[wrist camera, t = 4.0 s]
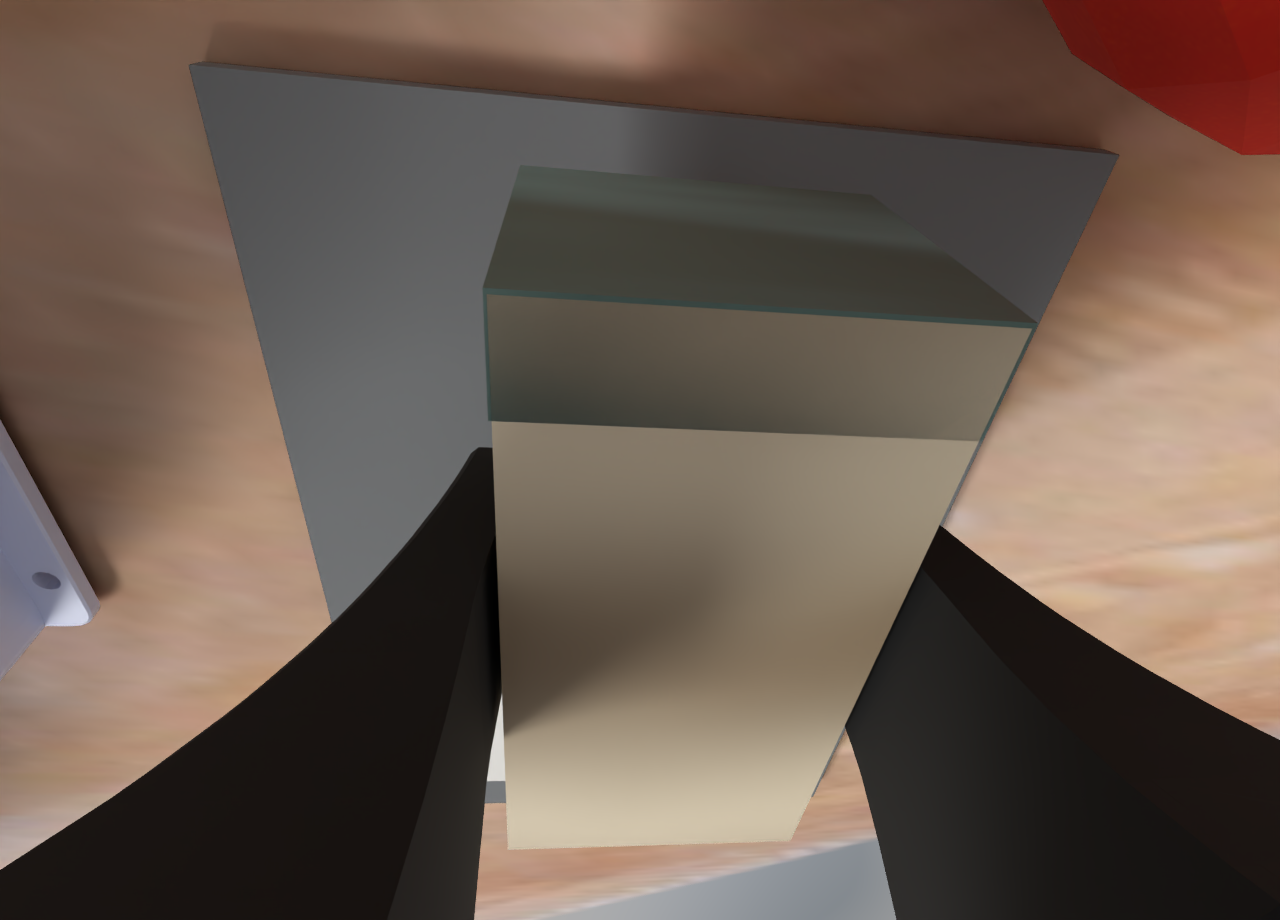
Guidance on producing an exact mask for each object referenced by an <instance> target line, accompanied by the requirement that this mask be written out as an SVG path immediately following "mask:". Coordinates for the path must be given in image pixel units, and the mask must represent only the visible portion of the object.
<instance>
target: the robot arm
mask: <svg viewBox="0 0 1280 920" xmlns="http://www.w3.org/2000/svg"><path fill="white" fill-rule="evenodd" d="M99 608H100V603H99V600H98V598H97V596H96V595H95V593H94V591H93V589H92V587H91V585H90V584H89V582H88V580H87V578H86V576H85V574H84V572H83V571H82V569H81V567H80V565H79V563H78V561H77V560H76V558H75V556H74V554H73V552H72V550H71V549H70V547H69V545H68V543H67V541H66V539H65V538H64V536H63V534H62V532H61V530H60V528H59V527H58V525H57V523H56V521H55V519H54V517H53V516H52V514H51V512H50V510H49V508H48V506H47V504H46V503H45V501H44V499H43V497H42V495H41V493H40V492H39V490H38V488H37V486H36V484H35V482H34V481H33V479H32V477H31V475H30V473H29V471H28V470H27V468H26V466H25V464H24V462H23V460H22V459H21V457H20V455H19V453H18V451H17V449H16V448H15V446H14V444H13V442H12V440H11V438H10V437H9V435H8V433H7V431H6V429H5V427H4V425H3V424H2V422H1V420H0V681H1V680H2V678H3V677H4V676H5V675H6V674H7V672H8V671H9V670H10V669H11V667H12V666H13V665H14V664H15V663H16V661H17V660H18V659H19V658H20V656H21V655H22V654H23V653H24V652H25V650H26V649H27V648H28V647H29V645H30V644H31V643H32V642H33V641H34V639H35V638H36V637H37V636H38V634H39V633H40V632H41V631H42V630H43V628H44V627H45V626H79V625H85V624H87V623H89V622H90V621H91V620H92V619H93V617H94V616H95V615H96V613H97V612H98V610H99ZM501 696H502V679H501V653H500V627H499V601H498V575H497V549H496V523H495V497H494V470H493V448H490V447H478V448H477V449H476V450H474V451H473V452H472V453H471V454H470V456H469V457H468V459H467V461H466V462H465V464H464V466H463V467H462V469H461V470H460V472H459V474H458V475H457V477H456V478H455V480H454V481H453V482H452V484H451V485H450V487H449V488H448V490H447V491H446V492H445V494H444V495H443V497H442V498H441V499H440V501H439V502H438V504H437V505H436V506H435V508H434V509H433V510H432V511H431V513H430V514H429V515H428V517H427V518H426V519H425V520H424V522H423V523H422V524H421V526H420V527H419V528H418V529H417V531H416V532H415V533H414V534H413V536H412V537H411V538H410V539H409V541H408V542H407V543H406V544H405V545H404V547H403V548H402V549H401V550H400V551H399V552H398V554H397V555H396V556H395V557H394V558H393V559H392V560H391V561H390V562H389V564H388V565H387V566H386V567H385V568H384V569H383V570H382V571H381V573H380V574H379V575H378V576H377V577H376V578H375V579H374V580H373V582H372V583H371V584H370V585H369V586H368V587H367V588H366V589H365V590H364V591H363V592H362V593H361V594H360V595H359V596H358V598H357V599H356V600H355V601H354V602H353V603H352V604H351V605H350V606H349V607H348V608H347V609H346V610H345V611H344V612H343V613H342V614H341V615H340V616H339V617H338V618H337V619H336V620H334V621H333V622H332V623H331V624H330V625H329V626H328V627H327V628H326V629H325V630H324V631H323V632H322V633H321V634H320V635H319V636H318V637H317V638H315V639H314V640H313V641H312V642H311V643H310V644H309V645H308V646H307V647H306V648H305V649H303V650H302V651H301V652H300V653H299V654H298V655H296V656H295V657H294V658H293V659H292V660H291V661H289V662H288V663H287V664H286V665H285V666H284V667H283V668H281V669H280V670H279V671H278V672H277V673H276V674H274V675H273V676H272V677H271V678H270V679H269V680H267V681H266V682H265V683H264V684H263V685H262V686H260V687H259V688H258V689H257V690H256V691H254V692H253V693H252V694H251V695H249V696H248V697H247V698H246V699H245V700H243V701H242V702H241V703H240V704H238V705H237V706H236V707H235V708H233V709H232V710H231V711H229V712H228V713H227V714H226V715H224V716H223V717H222V718H220V719H219V720H218V721H216V722H215V723H214V724H212V725H211V726H210V727H208V728H207V729H205V730H204V731H203V732H201V733H200V734H199V735H197V736H196V737H195V738H193V739H192V740H191V741H189V742H188V743H187V744H185V745H184V746H183V747H181V748H180V749H179V750H177V751H176V752H174V753H173V754H172V755H170V756H169V757H168V758H166V759H165V760H164V761H162V762H161V763H160V764H158V765H157V766H156V767H154V768H153V769H152V770H150V771H149V772H148V773H146V774H145V775H143V776H142V777H141V778H139V779H138V780H136V781H135V782H133V783H132V784H131V785H129V786H128V787H126V788H125V789H123V790H122V791H121V792H119V793H118V794H116V795H115V796H113V797H112V798H111V799H109V800H108V801H106V802H104V803H103V804H101V805H100V806H98V807H97V808H95V809H94V810H92V811H91V812H89V813H87V814H86V815H84V816H83V817H81V818H80V819H78V820H77V821H75V822H74V823H72V824H70V825H69V826H67V827H66V828H64V829H63V830H61V831H60V832H58V833H57V834H55V835H53V836H52V837H50V838H49V839H47V840H46V841H44V842H43V843H41V844H40V845H38V846H37V847H35V848H33V849H32V850H30V851H29V852H27V853H26V854H24V855H23V856H21V857H20V858H18V859H16V860H15V861H13V862H12V863H10V864H9V865H7V866H6V867H4V868H3V869H1V870H0V920H474V913H475V902H476V891H477V880H478V868H479V857H480V847H481V836H482V826H483V815H484V804H485V794H486V784H487V776H488V769H489V763H490V756H491V749H492V744H493V738H494V733H495V728H496V722H497V717H498V712H499V706H500V701H501ZM845 728H846V731H847V734H848V736H849V739H850V742H851V744H852V748H853V751H854V754H855V757H856V760H857V763H858V766H859V769H860V772H861V776H862V779H863V783H864V787H865V791H866V795H867V799H868V803H869V807H870V810H871V814H872V818H873V822H874V826H875V830H876V834H877V838H878V841H879V846H880V850H881V854H882V859H883V863H884V867H885V872H886V876H887V880H888V884H889V889H890V893H891V897H892V901H893V906H894V910H895V915H896V920H1280V740H1279V739H1277V738H1275V737H1273V736H1271V735H1268V734H1266V733H1264V732H1262V731H1260V730H1258V729H1256V728H1254V727H1253V726H1251V725H1249V724H1247V723H1245V722H1243V721H1241V720H1239V719H1237V718H1235V717H1233V716H1231V715H1229V714H1227V713H1225V712H1224V711H1222V710H1220V709H1218V708H1216V707H1214V706H1212V705H1210V704H1208V703H1207V702H1205V701H1203V700H1201V699H1199V698H1198V697H1196V696H1194V695H1192V694H1190V693H1189V692H1187V691H1185V690H1183V689H1181V688H1180V687H1178V686H1176V685H1174V684H1172V683H1171V682H1169V681H1167V680H1165V679H1164V678H1162V677H1160V676H1158V675H1156V674H1155V673H1153V672H1151V671H1149V670H1147V669H1146V668H1144V667H1142V666H1141V665H1139V664H1137V663H1136V662H1134V661H1132V660H1131V659H1129V658H1127V657H1126V656H1124V655H1122V654H1121V653H1119V652H1117V651H1116V650H1114V649H1112V648H1111V647H1109V646H1108V645H1106V644H1105V643H1103V642H1101V641H1100V640H1098V639H1097V638H1095V637H1094V636H1092V635H1090V634H1089V633H1087V632H1086V631H1084V630H1083V629H1081V628H1080V627H1078V626H1076V625H1075V624H1073V623H1072V622H1070V621H1069V620H1067V619H1065V618H1064V617H1062V616H1061V615H1059V614H1058V613H1057V612H1055V611H1054V610H1052V609H1051V608H1049V607H1048V606H1046V605H1045V604H1043V603H1042V602H1040V601H1039V600H1038V599H1036V598H1035V597H1033V596H1032V595H1031V594H1029V593H1028V592H1027V591H1025V590H1024V589H1022V588H1021V587H1020V586H1018V585H1017V584H1016V583H1014V582H1013V581H1012V580H1010V579H1009V578H1007V577H1006V576H1005V575H1003V574H1002V573H1001V572H999V571H998V570H996V569H995V568H994V567H993V566H991V565H990V564H989V563H987V562H986V561H985V560H983V559H982V558H981V557H980V556H978V555H977V554H976V553H974V552H973V551H972V550H971V549H969V548H968V547H967V546H966V545H964V544H963V543H962V542H960V541H959V540H958V539H957V538H955V537H954V536H953V535H952V534H951V533H949V532H948V531H947V530H946V529H944V528H943V527H942V526H941V525H939V527H938V529H937V531H936V533H935V536H934V538H933V540H932V542H931V544H930V546H929V548H928V550H927V553H926V555H925V557H924V559H923V561H922V563H921V565H920V567H919V569H918V572H917V574H916V576H915V578H914V580H913V582H912V584H911V586H910V588H909V591H908V593H907V595H906V597H905V599H904V601H903V603H902V605H901V607H900V610H899V612H898V614H897V616H896V618H895V620H894V622H893V624H892V627H891V629H890V631H889V633H888V635H887V637H886V639H885V641H884V643H883V646H882V648H881V650H880V652H879V654H878V656H877V658H876V660H875V662H874V665H873V667H872V669H871V671H870V673H869V675H868V677H867V679H866V682H865V684H864V686H863V688H862V690H861V692H860V694H859V696H858V698H857V701H856V703H855V705H854V707H853V709H852V711H851V713H850V715H849V717H848V720H847V722H846V724H845Z"/></svg>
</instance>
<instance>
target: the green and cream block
mask: <svg viewBox="0 0 1280 920" xmlns="http://www.w3.org/2000/svg"><path fill="white" fill-rule="evenodd" d="M483 312H484V336H485V360H486V383H487V407H488V421H492V444H493V470H494V497H495V523H496V549H497V575H498V601H499V627H500V653H501V679H502V706H503V732H504V758H505V784H506V810H507V836H508V850H515V849H547V848H580V847H612V846H645V845H677V844H709V843H742V842H774V841H790V840H791V838H792V836H793V834H794V832H795V830H796V827H797V825H798V823H799V821H800V819H801V817H802V815H803V813H804V811H805V808H806V806H807V804H808V802H809V800H810V798H811V796H812V794H813V791H814V789H815V787H816V785H817V783H818V781H819V779H820V777H821V775H822V772H823V770H824V768H825V766H826V764H827V762H828V760H829V758H830V756H831V753H832V751H833V749H834V747H835V745H836V743H837V741H838V739H839V737H840V734H841V732H842V730H843V728H844V726H845V724H846V722H847V720H848V717H849V715H850V713H851V711H852V709H853V707H854V705H855V703H856V701H857V698H858V696H859V694H860V692H861V690H862V688H863V686H864V684H865V682H866V679H867V677H868V675H869V673H870V671H871V669H872V667H873V665H874V662H875V660H876V658H877V656H878V654H879V652H880V650H881V648H882V646H883V643H884V641H885V639H886V637H887V635H888V633H889V631H890V629H891V627H892V624H893V622H894V620H895V618H896V616H897V614H898V612H899V610H900V607H901V605H902V603H903V601H904V599H905V597H906V595H907V593H908V591H909V588H910V586H911V584H912V582H913V580H914V578H915V576H916V574H917V572H918V569H919V567H920V565H921V563H922V561H923V559H924V557H925V555H926V553H927V550H928V548H929V546H930V544H931V542H932V540H933V538H934V536H935V533H936V531H937V529H938V527H939V525H940V523H941V521H942V519H943V517H944V514H945V512H946V510H947V508H948V506H949V504H950V502H951V500H952V498H953V495H954V493H955V491H956V489H957V487H958V485H959V483H960V481H961V478H962V476H963V474H964V472H965V470H966V468H967V466H968V464H969V462H970V459H971V457H972V455H973V453H974V451H975V449H976V447H977V445H978V443H979V441H981V442H982V441H983V438H984V436H985V434H986V432H987V430H988V428H989V426H990V424H991V422H992V419H993V417H994V415H995V413H996V411H997V409H998V407H999V405H1000V403H1001V401H1002V398H1003V396H1004V394H1005V392H1006V390H1007V388H1008V386H1009V384H1010V382H1011V380H1012V377H1013V375H1014V373H1015V371H1016V369H1017V367H1018V365H1019V363H1020V361H1021V359H1022V356H1023V354H1024V352H1025V350H1026V348H1027V346H1028V344H1029V342H1030V340H1031V338H1032V335H1033V333H1034V331H1035V329H1036V327H1037V325H1038V323H1037V322H1036V321H1035V320H1033V319H1032V318H1031V317H1029V316H1028V315H1027V314H1025V313H1024V312H1023V311H1022V310H1020V309H1019V308H1018V307H1016V306H1015V305H1014V304H1012V303H1011V302H1010V301H1009V300H1007V299H1006V298H1005V297H1003V296H1002V295H1001V294H999V293H998V292H997V291H996V290H994V289H993V288H992V287H990V286H989V285H988V284H986V283H985V282H984V281H983V280H981V279H980V278H979V277H977V276H976V275H975V274H973V273H972V272H971V271H969V270H968V269H967V268H966V267H964V266H963V265H962V264H960V263H959V262H958V261H956V260H955V259H954V258H953V257H951V256H950V255H949V254H947V253H946V252H945V251H943V250H942V249H941V248H940V247H938V246H937V245H936V244H934V243H933V242H932V241H930V240H929V239H928V238H927V237H925V236H924V235H923V234H921V233H920V232H919V231H917V230H916V229H915V228H914V227H912V226H911V225H910V224H908V223H907V222H906V221H904V220H903V219H902V218H900V217H899V216H898V215H897V214H895V213H894V212H893V211H891V210H890V209H889V208H887V207H886V206H885V205H884V204H882V203H881V202H880V201H878V200H877V199H876V198H874V197H873V196H872V195H867V194H855V193H844V192H832V191H820V190H808V189H797V188H785V187H773V186H761V185H750V184H738V183H726V182H714V181H703V180H691V179H679V178H667V177H656V176H644V175H632V174H620V173H609V172H597V171H585V170H573V169H561V168H550V167H538V166H526V165H520V167H519V171H518V174H517V177H516V180H515V184H514V187H513V190H512V193H511V197H510V200H509V203H508V206H507V210H506V213H505V216H504V219H503V223H502V226H501V229H500V232H499V236H498V239H497V242H496V245H495V249H494V252H493V255H492V259H491V262H490V265H489V268H488V272H487V275H486V278H485V281H484V285H483Z"/></svg>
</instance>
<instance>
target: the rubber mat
mask: <svg viewBox="0 0 1280 920" xmlns="http://www.w3.org/2000/svg"><path fill="white" fill-rule="evenodd" d="M189 69H190V73H191V76H192V80H193V84H194V88H195V92H196V96H197V100H198V104H199V108H200V111H201V115H202V119H203V123H204V127H205V131H206V135H207V139H208V143H209V147H210V150H211V154H212V158H213V162H214V166H215V170H216V174H217V178H218V182H219V185H220V189H221V193H222V197H223V201H224V205H225V209H226V213H227V217H228V221H229V224H230V228H231V232H232V236H233V240H234V244H235V248H236V252H237V256H238V259H239V263H240V267H241V271H242V275H243V279H244V283H245V287H246V291H247V295H248V298H249V302H250V306H251V310H252V314H253V318H254V322H255V326H256V330H257V333H258V337H259V341H260V345H261V349H262V353H263V357H264V361H265V365H266V369H267V372H268V376H269V380H270V384H271V388H272V392H273V396H274V400H275V404H276V407H277V411H278V415H279V419H280V423H281V427H282V431H283V435H284V439H285V443H286V446H287V450H288V454H289V458H290V462H291V466H292V470H293V474H294V478H295V481H296V485H297V489H298V493H299V497H300V501H301V505H302V509H303V513H304V517H305V520H306V524H307V528H308V532H309V536H310V540H311V544H312V548H313V552H314V555H315V559H316V563H317V567H318V571H319V575H320V579H321V583H322V587H323V591H324V594H325V598H326V602H327V606H328V610H329V614H330V618H331V622H333V621H334V620H336V619H337V618H338V617H339V616H340V615H341V614H342V613H343V612H344V611H345V610H346V609H347V608H348V607H349V606H350V605H351V604H352V603H353V602H354V601H355V600H356V599H357V598H358V596H359V595H360V594H361V593H362V592H363V591H364V590H365V589H366V588H367V587H368V586H369V585H370V584H371V583H372V582H373V580H374V579H375V578H376V577H377V576H378V575H379V574H380V573H381V571H382V570H383V569H384V568H385V567H386V566H387V565H388V564H389V562H390V561H391V560H392V559H393V558H394V557H395V556H396V555H397V554H398V552H399V551H400V550H401V549H402V548H403V547H404V545H405V544H406V543H407V542H408V541H409V539H410V538H411V537H412V536H413V534H414V533H415V532H416V531H417V529H418V528H419V527H420V526H421V524H422V523H423V522H424V520H425V519H426V518H427V517H428V515H429V514H430V513H431V511H432V510H433V509H434V508H435V506H436V505H437V504H438V502H439V501H440V499H441V498H442V497H443V495H444V494H445V492H446V491H447V490H448V488H449V487H450V485H451V484H452V482H453V481H454V480H455V478H456V477H457V475H458V474H459V472H460V470H461V469H462V467H463V466H464V464H465V462H466V461H467V459H468V457H469V456H470V454H471V453H472V452H473V451H474V450H476V449H477V448H478V447H490V448H493V444H492V421H488V407H487V383H486V360H485V336H484V312H483V285H484V281H485V278H486V275H487V272H488V268H489V265H490V262H491V259H492V255H493V252H494V249H495V245H496V242H497V239H498V236H499V232H500V229H501V226H502V223H503V219H504V216H505V213H506V210H507V206H508V203H509V200H510V197H511V193H512V190H513V187H514V184H515V180H516V177H517V174H518V171H519V167H520V165H526V166H538V167H550V168H561V169H573V170H585V171H597V172H609V173H620V174H632V175H644V176H656V177H667V178H679V179H691V180H703V181H714V182H726V183H738V184H750V185H761V186H773V187H785V188H797V189H808V190H820V191H832V192H844V193H855V194H867V195H872V196H873V197H874V198H876V199H877V200H878V201H880V202H881V203H882V204H884V205H885V206H886V207H887V208H889V209H890V210H891V211H893V212H894V213H895V214H897V215H898V216H899V217H900V218H902V219H903V220H904V221H906V222H907V223H908V224H910V225H911V226H912V227H914V228H915V229H916V230H917V231H919V232H920V233H921V234H923V235H924V236H925V237H927V238H928V239H929V240H930V241H932V242H933V243H934V244H936V245H937V246H938V247H940V248H941V249H942V250H943V251H945V252H946V253H947V254H949V255H950V256H951V257H953V258H954V259H955V260H956V261H958V262H959V263H960V264H962V265H963V266H964V267H966V268H967V269H968V270H969V271H971V272H972V273H973V274H975V275H976V276H977V277H979V278H980V279H981V280H983V281H984V282H985V283H986V284H988V285H989V286H990V287H992V288H993V289H994V290H996V291H997V292H998V293H999V294H1001V295H1002V296H1003V297H1005V298H1006V299H1007V300H1009V301H1010V302H1011V303H1012V304H1014V305H1015V306H1016V307H1018V308H1019V309H1020V310H1022V311H1023V312H1024V313H1025V314H1027V315H1028V316H1029V317H1031V318H1032V319H1033V320H1035V321H1036V322H1037V323H1038V324H1039V322H1040V320H1041V318H1042V316H1043V314H1044V312H1045V310H1046V308H1047V306H1048V304H1049V301H1050V299H1051V297H1052V295H1053V293H1054V291H1055V289H1056V287H1057V285H1058V283H1059V280H1060V278H1061V276H1062V274H1063V272H1064V270H1065V268H1066V266H1067V264H1068V262H1069V260H1070V257H1071V255H1072V253H1073V251H1074V249H1075V247H1076V245H1077V243H1078V241H1079V239H1080V237H1081V234H1082V232H1083V230H1084V228H1085V226H1086V224H1087V222H1088V220H1089V218H1090V216H1091V213H1092V211H1093V209H1094V207H1095V205H1096V203H1097V201H1098V199H1099V197H1100V195H1101V193H1102V190H1103V188H1104V186H1105V184H1106V182H1107V180H1108V178H1109V176H1110V174H1111V172H1112V169H1113V167H1114V165H1115V163H1116V161H1117V159H1118V157H1119V155H1118V154H1115V153H1112V152H1109V151H1106V150H1102V149H1092V148H1081V147H1071V146H1061V145H1051V144H1040V143H1030V142H1020V141H1010V140H999V139H989V138H979V137H969V136H959V135H948V134H938V133H928V132H918V131H907V130H897V129H887V128H877V127H866V126H856V125H846V124H836V123H825V122H815V121H805V120H795V119H784V118H774V117H764V116H754V115H743V114H733V113H723V112H713V111H702V110H692V109H682V108H672V107H661V106H651V105H641V104H631V103H620V102H610V101H600V100H590V99H579V98H569V97H559V96H549V95H538V94H528V93H518V92H508V91H497V90H487V89H477V88H467V87H457V86H446V85H436V84H426V83H416V82H405V81H395V80H385V79H375V78H364V77H354V76H344V75H334V74H323V73H313V72H303V71H293V70H282V69H272V68H262V67H252V66H241V65H231V64H221V63H211V62H198V63H194V64H190V65H189ZM1037 327H1038V325H1037ZM1037 327H1036V329H1037ZM1036 329H1035V331H1036ZM1035 331H1034V333H1035ZM1034 333H1033V335H1034ZM1033 335H1032V337H1033ZM1031 339H1032V338H1031ZM1030 341H1031V340H1030ZM1029 343H1030V342H1029ZM1028 345H1029V344H1028ZM1027 347H1028V346H1027ZM1026 350H1027V348H1026ZM1026 350H1025V352H1026ZM1025 352H1024V354H1025ZM1024 354H1023V356H1024ZM1023 356H1022V358H1023ZM1021 360H1022V359H1021ZM1020 362H1021V361H1020ZM1019 364H1020V363H1019ZM1018 366H1019V365H1018ZM1017 368H1018V367H1017ZM1016 371H1017V369H1016ZM1016 371H1015V373H1016ZM1015 373H1014V375H1015ZM1014 375H1013V377H1014ZM1013 377H1012V379H1013ZM1011 381H1012V380H1011ZM1010 383H1011V382H1010ZM1009 385H1010V384H1009ZM1008 387H1009V386H1008ZM1007 389H1008V388H1007ZM1006 391H1007V390H1006ZM1005 394H1006V392H1005ZM1005 394H1004V396H1005ZM1004 396H1003V398H1004ZM1003 398H1002V400H1003ZM1001 402H1002V401H1001ZM1000 404H1001V403H1000ZM999 406H1000V405H999ZM998 408H999V407H998ZM997 410H998V409H997ZM996 412H997V411H996ZM995 415H996V413H995ZM995 415H994V417H995ZM994 417H993V419H994ZM993 419H992V421H993ZM991 423H992V422H991ZM990 425H991V424H990ZM989 427H990V426H989ZM988 429H989V428H988ZM987 431H988V430H987ZM986 433H987V432H986ZM985 435H986V434H985ZM984 438H985V436H984ZM984 438H983V440H984ZM982 442H983V441H982ZM982 442H981V441H979V443H978V445H977V447H976V449H975V451H974V453H973V455H972V457H971V459H970V462H969V464H968V466H967V468H966V470H965V472H964V474H963V476H962V478H961V481H960V483H959V485H958V487H957V489H956V491H955V493H954V495H953V498H952V500H951V502H950V504H949V506H948V508H947V510H946V512H945V514H944V517H943V519H942V521H941V523H940V525H941V526H942V525H943V523H944V521H945V519H946V517H947V515H948V513H949V511H950V509H951V507H952V505H953V502H954V500H955V498H956V496H957V494H958V492H959V490H960V488H961V486H962V484H963V482H964V479H965V477H966V475H967V473H968V471H969V469H970V467H971V465H972V463H973V461H974V458H975V456H976V454H977V452H978V450H979V448H980V446H981V444H982ZM845 729H846V728H845V726H844V728H843V730H842V732H841V734H840V737H839V739H838V741H837V743H836V745H835V747H834V749H833V751H832V753H831V756H830V758H829V760H828V762H827V764H826V766H825V768H824V770H823V772H822V775H821V777H820V779H819V781H818V783H817V785H816V787H815V789H814V791H813V794H812V796H811V797H813V796H814V794H815V791H816V789H817V787H818V785H819V783H820V781H821V779H822V777H823V775H824V773H825V770H826V768H827V766H828V764H829V762H830V760H831V758H832V756H833V754H834V752H835V750H836V747H837V745H838V743H839V741H840V739H841V737H842V735H843V733H844V731H845ZM485 803H506V784H505V758H504V732H503V706H502V696H501V701H500V706H499V712H498V717H497V722H496V728H495V733H494V738H493V744H492V749H491V756H490V763H489V769H488V776H487V784H486V794H485Z"/></svg>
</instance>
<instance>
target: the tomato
mask: <svg viewBox="0 0 1280 920" xmlns="http://www.w3.org/2000/svg"><path fill="white" fill-rule="evenodd" d="M1042 1H1043V2H1044V4H1045V6H1046V8H1047V10H1048V11H1049V13H1050V15H1051V17H1052V19H1053V20H1054V22H1055V24H1056V26H1057V28H1058V29H1059V31H1060V33H1061V35H1062V37H1063V38H1064V40H1065V42H1066V44H1067V46H1068V48H1069V49H1070V51H1071V53H1072V54H1073V55H1075V56H1076V57H1078V58H1079V59H1081V60H1082V61H1084V62H1085V63H1087V64H1088V65H1090V66H1092V67H1093V68H1095V69H1096V70H1098V71H1099V72H1101V73H1102V74H1104V75H1105V76H1107V77H1108V78H1110V79H1111V80H1113V81H1114V82H1116V83H1117V84H1119V85H1120V86H1122V87H1123V88H1125V89H1127V90H1128V91H1130V92H1131V93H1133V94H1135V95H1136V96H1138V97H1139V98H1141V99H1143V100H1144V101H1146V102H1148V103H1149V104H1151V105H1152V106H1154V107H1156V108H1157V109H1159V110H1160V111H1162V112H1164V113H1165V114H1167V115H1169V116H1170V117H1172V118H1174V119H1176V120H1178V121H1179V122H1181V123H1183V124H1185V125H1187V126H1189V127H1191V128H1193V129H1194V130H1196V131H1198V132H1200V133H1202V134H1204V135H1206V136H1207V137H1209V138H1211V139H1213V140H1215V141H1217V142H1219V143H1221V144H1222V145H1224V146H1226V147H1228V148H1230V149H1232V150H1234V151H1236V152H1237V153H1239V154H1241V155H1261V154H1280V0H1042Z"/></svg>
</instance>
